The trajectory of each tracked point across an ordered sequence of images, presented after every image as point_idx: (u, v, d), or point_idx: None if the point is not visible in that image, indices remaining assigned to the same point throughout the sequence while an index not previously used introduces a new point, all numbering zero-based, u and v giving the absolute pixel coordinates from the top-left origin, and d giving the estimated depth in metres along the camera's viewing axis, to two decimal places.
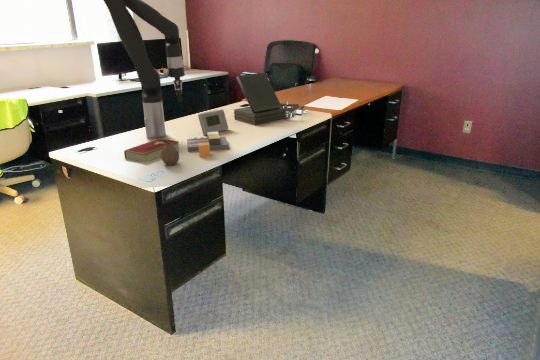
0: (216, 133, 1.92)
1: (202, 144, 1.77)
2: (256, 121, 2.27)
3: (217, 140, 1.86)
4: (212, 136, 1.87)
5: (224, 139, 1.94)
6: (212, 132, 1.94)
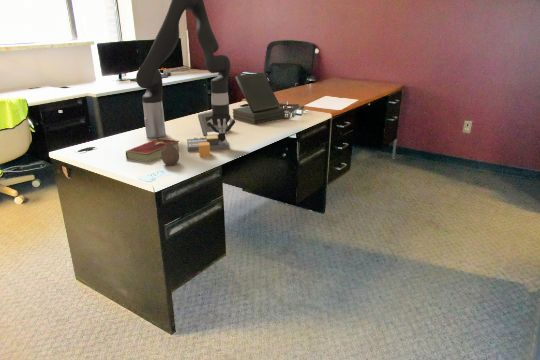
0: (216, 133, 1.92)
1: (202, 144, 1.77)
2: (255, 121, 2.28)
3: (215, 140, 1.86)
4: (210, 136, 1.87)
5: None
6: (212, 132, 1.94)
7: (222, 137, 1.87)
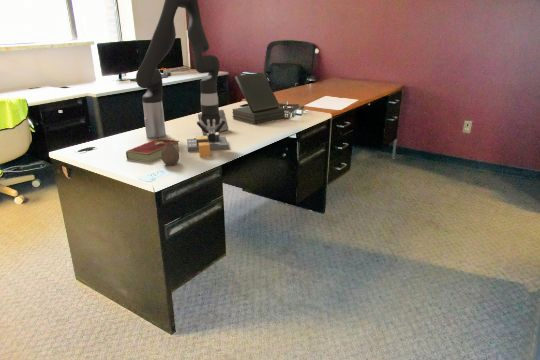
0: (216, 133, 1.92)
1: (202, 144, 1.77)
2: (255, 120, 2.28)
3: (205, 141, 1.85)
4: (200, 137, 1.86)
5: (224, 139, 1.94)
6: None
7: (212, 138, 1.86)
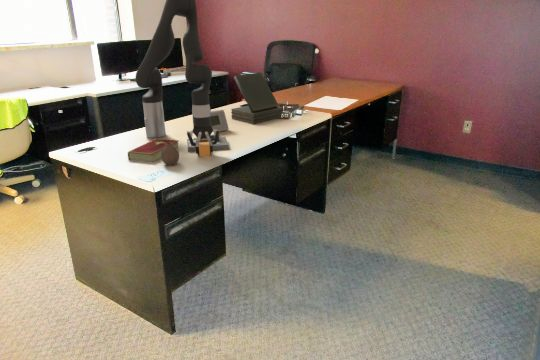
0: None
1: (202, 144, 1.77)
2: (255, 120, 2.29)
3: (205, 141, 1.85)
4: None
5: (224, 139, 1.94)
6: (212, 132, 1.94)
7: None
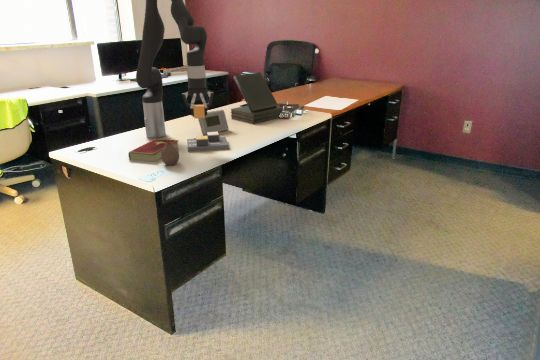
0: (216, 133, 1.92)
1: (197, 106, 1.80)
2: (255, 120, 2.30)
3: (205, 141, 1.85)
4: (200, 137, 1.86)
5: (224, 139, 1.94)
6: (212, 132, 1.94)
7: None
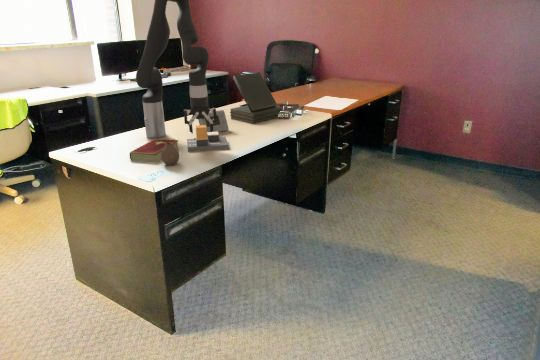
0: (216, 133, 1.92)
1: (199, 126, 1.84)
2: (254, 120, 2.30)
3: (205, 141, 1.85)
4: None
5: (224, 139, 1.94)
6: (212, 132, 1.94)
7: (192, 129, 1.83)
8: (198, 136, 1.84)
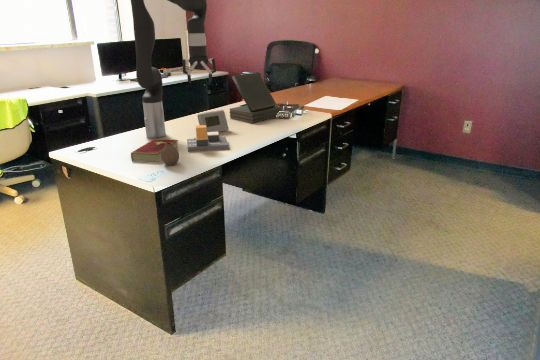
0: (216, 133, 1.92)
1: (199, 126, 1.84)
2: (254, 119, 2.31)
3: (205, 141, 1.85)
4: None
5: (224, 139, 1.94)
6: (212, 132, 1.94)
7: None
8: (198, 136, 1.84)
